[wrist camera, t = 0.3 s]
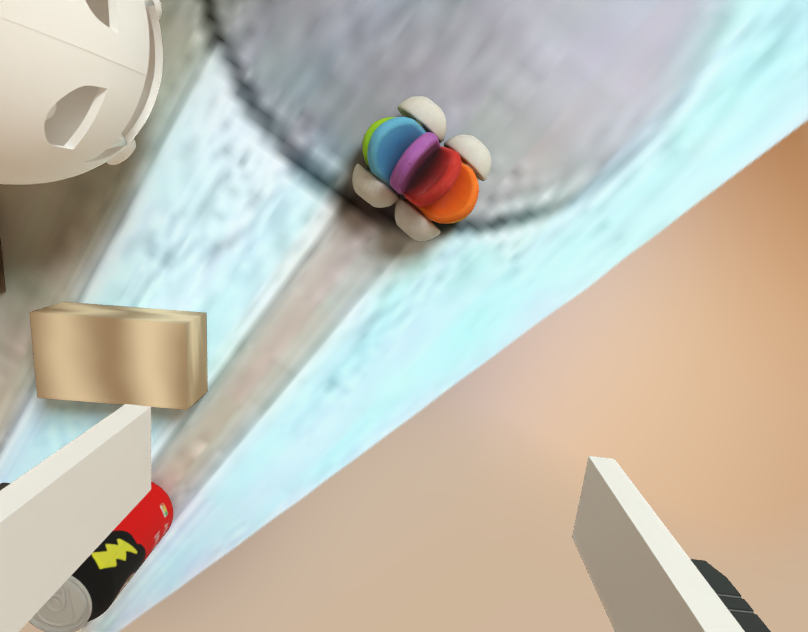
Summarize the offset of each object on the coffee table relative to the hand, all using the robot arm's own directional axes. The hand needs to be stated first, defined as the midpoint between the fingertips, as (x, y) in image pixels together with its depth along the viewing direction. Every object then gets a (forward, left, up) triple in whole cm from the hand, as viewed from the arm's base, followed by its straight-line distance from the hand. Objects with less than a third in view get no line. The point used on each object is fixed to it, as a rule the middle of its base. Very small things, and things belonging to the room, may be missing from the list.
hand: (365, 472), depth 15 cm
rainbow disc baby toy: (-10, +1, -28) cm, 30 cm away
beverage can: (+21, -22, -28) cm, 41 cm away
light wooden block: (+6, -22, -28) cm, 36 cm away
